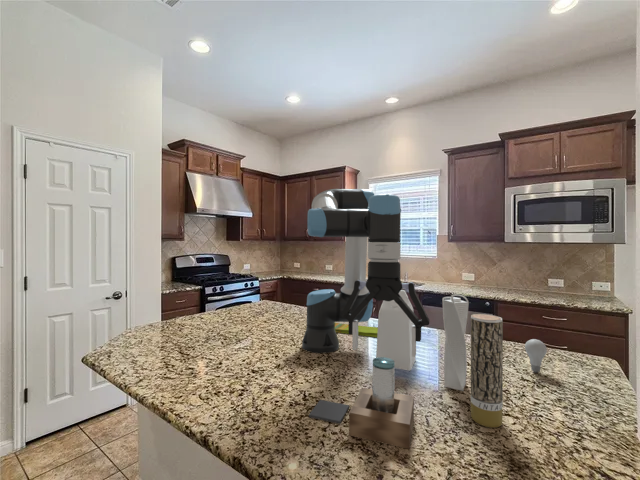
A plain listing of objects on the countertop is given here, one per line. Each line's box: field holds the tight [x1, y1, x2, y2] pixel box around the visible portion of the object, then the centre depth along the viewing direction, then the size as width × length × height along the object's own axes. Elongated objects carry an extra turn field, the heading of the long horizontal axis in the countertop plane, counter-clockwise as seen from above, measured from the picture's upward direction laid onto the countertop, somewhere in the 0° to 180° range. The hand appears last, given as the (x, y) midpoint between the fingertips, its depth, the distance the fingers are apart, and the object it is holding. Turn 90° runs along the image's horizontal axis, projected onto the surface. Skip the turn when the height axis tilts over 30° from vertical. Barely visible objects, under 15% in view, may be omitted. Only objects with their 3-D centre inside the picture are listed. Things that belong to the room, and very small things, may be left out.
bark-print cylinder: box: [470, 313, 504, 429], centre depth 76 cm, size 7×7×25 cm
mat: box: [308, 399, 350, 425], centre depth 79 cm, size 8×8×1 cm
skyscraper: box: [442, 293, 470, 392], centre depth 95 cm, size 8×8×28 cm
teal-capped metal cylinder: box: [372, 357, 396, 414], centre depth 73 cm, size 5×5×15 cm
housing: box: [348, 387, 415, 450], centre depth 73 cm, size 13×13×5 cm
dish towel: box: [335, 322, 378, 339], centre depth 155 cm, size 15×36×3 cm, turn 67°
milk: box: [375, 289, 417, 372], centre depth 113 cm, size 12×12×26 cm
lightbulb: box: [524, 338, 548, 373], centre depth 105 cm, size 6×6×11 cm
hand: (383, 351), depth 73 cm, fingers open, 13 cm apart
